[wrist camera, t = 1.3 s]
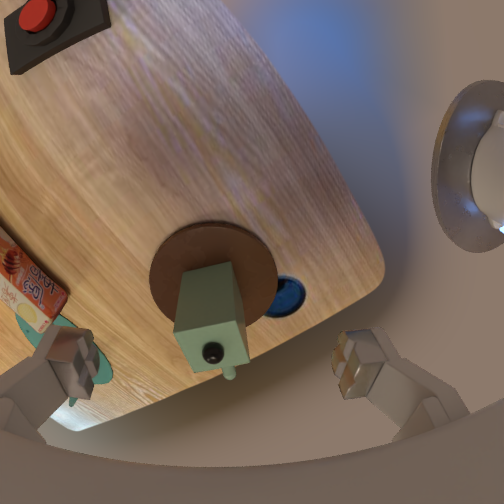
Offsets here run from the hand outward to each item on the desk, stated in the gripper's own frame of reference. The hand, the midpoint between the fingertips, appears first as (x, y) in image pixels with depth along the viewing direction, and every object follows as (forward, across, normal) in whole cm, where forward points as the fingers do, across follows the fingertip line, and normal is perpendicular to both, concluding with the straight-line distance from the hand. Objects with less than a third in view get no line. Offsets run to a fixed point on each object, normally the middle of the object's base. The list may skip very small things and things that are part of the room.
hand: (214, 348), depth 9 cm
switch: (+20, +19, -18) cm, 33 cm away
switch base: (+24, +18, -18) cm, 35 cm away
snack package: (+24, +28, +10) cm, 38 cm away
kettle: (+24, 0, +13) cm, 27 cm away
